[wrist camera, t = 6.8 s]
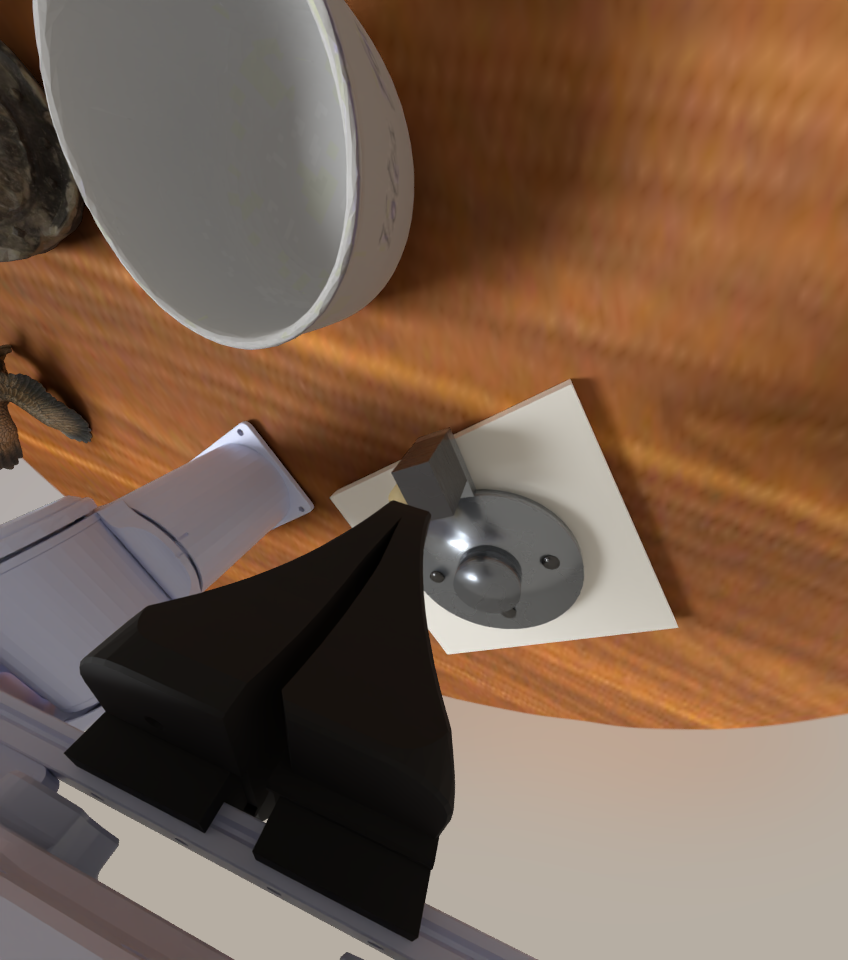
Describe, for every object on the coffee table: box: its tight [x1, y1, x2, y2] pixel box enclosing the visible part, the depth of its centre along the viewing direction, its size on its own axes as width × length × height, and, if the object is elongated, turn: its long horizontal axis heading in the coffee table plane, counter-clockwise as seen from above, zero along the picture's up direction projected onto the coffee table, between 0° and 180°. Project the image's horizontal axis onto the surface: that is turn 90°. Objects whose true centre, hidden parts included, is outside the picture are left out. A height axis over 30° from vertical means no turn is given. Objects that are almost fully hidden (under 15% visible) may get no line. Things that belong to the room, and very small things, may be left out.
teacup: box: [33, 0, 414, 350], centre depth 13 cm, size 14×11×8 cm
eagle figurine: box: [0, 345, 92, 470], centre depth 27 cm, size 8×7×9 cm
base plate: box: [330, 379, 678, 654], centre depth 22 cm, size 17×17×4 cm
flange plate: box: [391, 427, 584, 629], centre depth 20 cm, size 15×11×4 cm
